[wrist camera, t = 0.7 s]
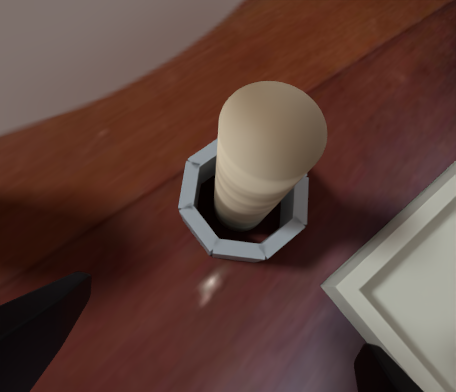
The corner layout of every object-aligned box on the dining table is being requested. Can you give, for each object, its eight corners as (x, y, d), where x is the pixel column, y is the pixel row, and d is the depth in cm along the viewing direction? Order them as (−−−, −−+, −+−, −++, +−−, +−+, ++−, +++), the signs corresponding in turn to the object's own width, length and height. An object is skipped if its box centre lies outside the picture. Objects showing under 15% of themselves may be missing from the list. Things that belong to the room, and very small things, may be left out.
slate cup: (231, 284, 22) (235, 285, 18) (164, 196, 23) (155, 180, 20) (313, 215, 24) (333, 203, 20) (246, 138, 25) (253, 114, 22)
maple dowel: (235, 242, 23) (267, 201, 10) (203, 201, 24) (196, 116, 11) (275, 210, 24) (349, 138, 11) (243, 171, 25) (278, 63, 12)
